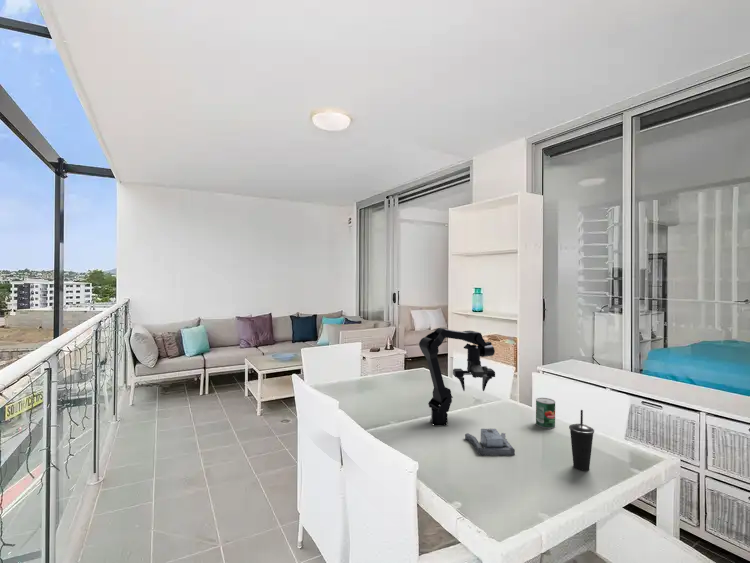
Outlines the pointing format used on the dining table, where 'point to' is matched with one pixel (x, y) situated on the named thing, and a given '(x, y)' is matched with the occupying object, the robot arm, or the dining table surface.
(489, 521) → the dining table surface
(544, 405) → the canned tomato
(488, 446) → the block
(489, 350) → the robot arm
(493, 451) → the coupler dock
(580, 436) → the drinking cup
